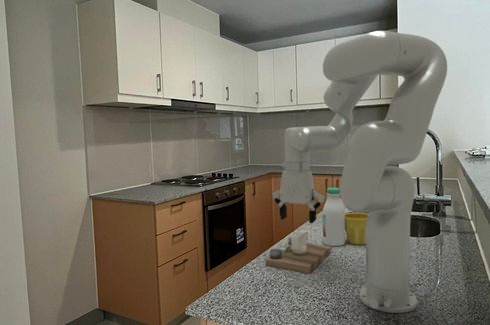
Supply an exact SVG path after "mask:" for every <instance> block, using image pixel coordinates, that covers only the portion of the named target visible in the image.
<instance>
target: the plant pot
mask: <svg viewBox="0 0 490 325" xmlns="http://www.w3.org/2000/svg"><path fill="white" fill-rule="evenodd" d="M368 214H369V213H355V212H347V213H345V235H346V237H347V238H346V239H347V241H348V243H349V244H352V245H360V246H361V245H366V221H367V217H368Z"/></svg>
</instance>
